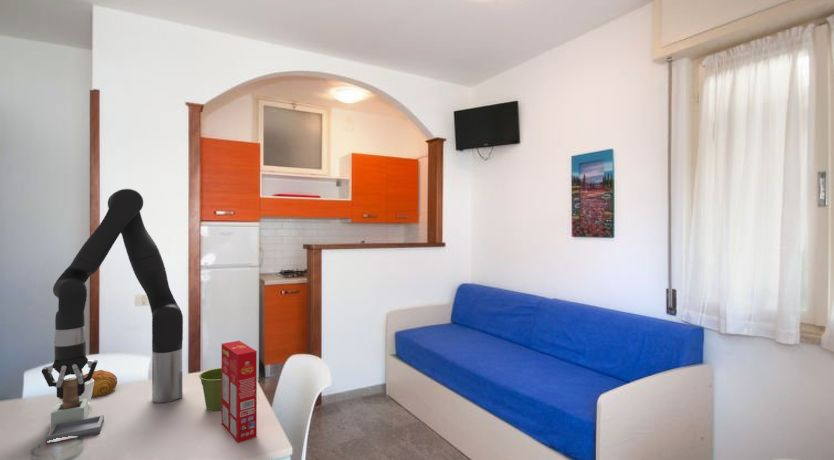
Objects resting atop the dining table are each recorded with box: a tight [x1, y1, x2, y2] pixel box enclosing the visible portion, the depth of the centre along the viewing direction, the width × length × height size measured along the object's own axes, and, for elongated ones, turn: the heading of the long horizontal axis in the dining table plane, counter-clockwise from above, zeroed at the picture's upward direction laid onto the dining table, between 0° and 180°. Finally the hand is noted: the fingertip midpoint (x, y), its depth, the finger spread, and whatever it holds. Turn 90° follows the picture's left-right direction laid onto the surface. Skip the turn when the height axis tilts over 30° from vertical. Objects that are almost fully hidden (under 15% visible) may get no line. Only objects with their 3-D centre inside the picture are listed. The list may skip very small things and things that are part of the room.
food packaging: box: [221, 340, 258, 444], centre depth 125 cm, size 15×5×25 cm, turn 42°
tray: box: [45, 414, 105, 442], centre depth 124 cm, size 12×9×2 cm
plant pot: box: [198, 367, 222, 411], centre depth 142 cm, size 12×12×11 cm
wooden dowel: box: [62, 376, 79, 410], centre depth 130 cm, size 4×4×12 cm
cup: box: [79, 379, 94, 406], centre depth 142 cm, size 7×10×8 cm
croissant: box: [83, 369, 118, 398], centre depth 155 cm, size 14×16×8 cm
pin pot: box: [50, 399, 89, 429], centre depth 130 cm, size 8×8×5 cm
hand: (70, 396), depth 130 cm, fingers closed on wooden dowel, 4 cm apart
